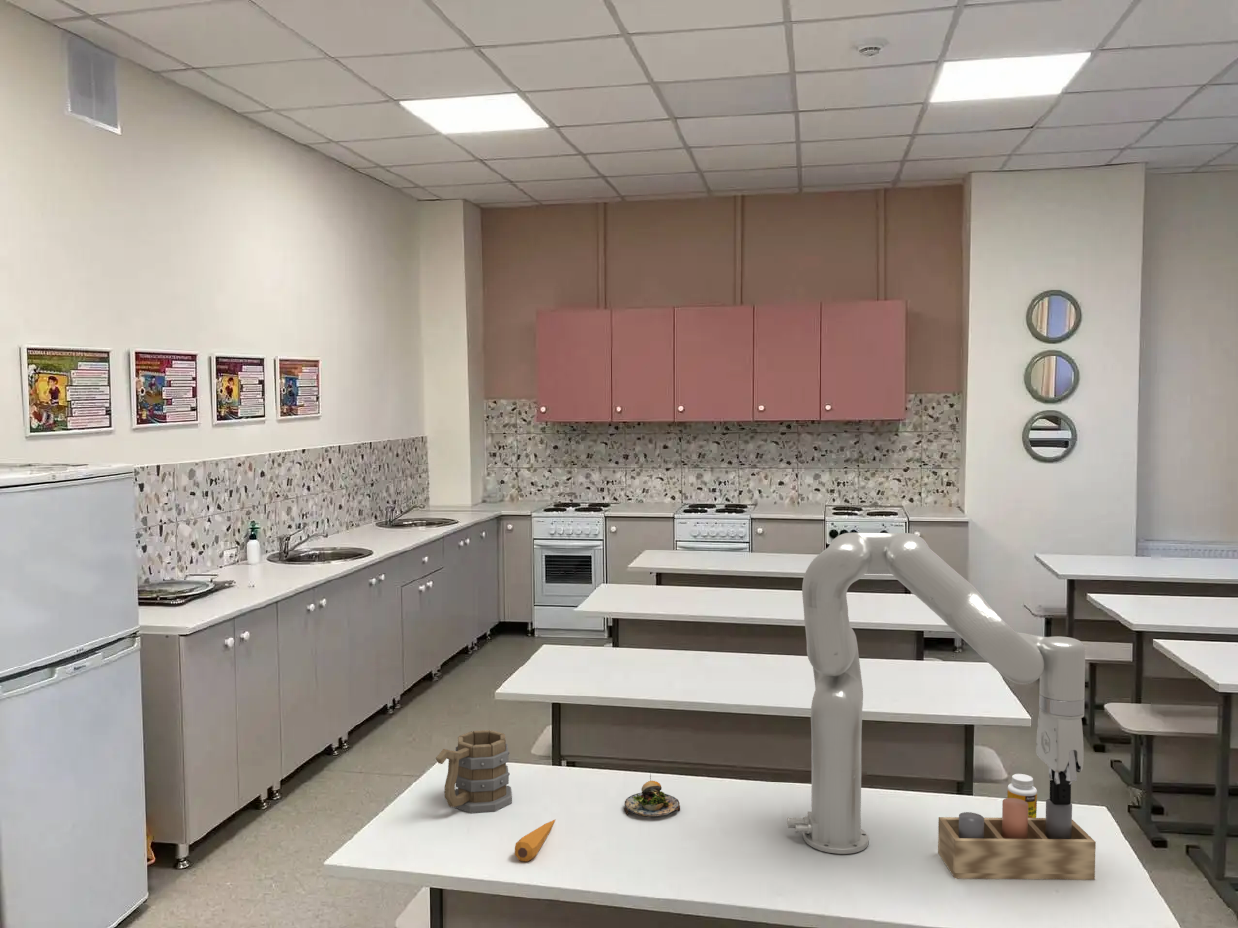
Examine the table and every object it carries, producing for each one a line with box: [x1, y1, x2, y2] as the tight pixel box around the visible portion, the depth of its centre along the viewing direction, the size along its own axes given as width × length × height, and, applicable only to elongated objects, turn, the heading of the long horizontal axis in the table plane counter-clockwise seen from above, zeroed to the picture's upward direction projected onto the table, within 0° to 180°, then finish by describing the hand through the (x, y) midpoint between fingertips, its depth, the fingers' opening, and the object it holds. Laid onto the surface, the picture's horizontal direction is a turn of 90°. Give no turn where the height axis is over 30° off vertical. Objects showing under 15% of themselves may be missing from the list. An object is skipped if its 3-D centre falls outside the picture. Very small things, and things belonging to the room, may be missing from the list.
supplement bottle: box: [1007, 773, 1038, 818], centre depth 195 cm, size 6×6×10 cm
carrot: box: [514, 819, 556, 862], centre depth 190 cm, size 20×4×4 cm, turn 166°
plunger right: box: [1045, 798, 1073, 839], centre depth 177 cm, size 4×4×7 cm
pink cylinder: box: [1001, 798, 1028, 839], centre depth 178 cm, size 4×4×7 cm
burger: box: [623, 774, 681, 817], centre depth 204 cm, size 12×12×8 cm
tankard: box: [435, 729, 513, 814], centre depth 205 cm, size 20×13×15 cm, turn 144°
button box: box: [937, 816, 1097, 881], centre depth 178 cm, size 25×10×7 cm, turn 89°
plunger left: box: [958, 811, 985, 839], centre depth 178 cm, size 4×4×7 cm
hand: (1060, 802), depth 177 cm, fingers closed
